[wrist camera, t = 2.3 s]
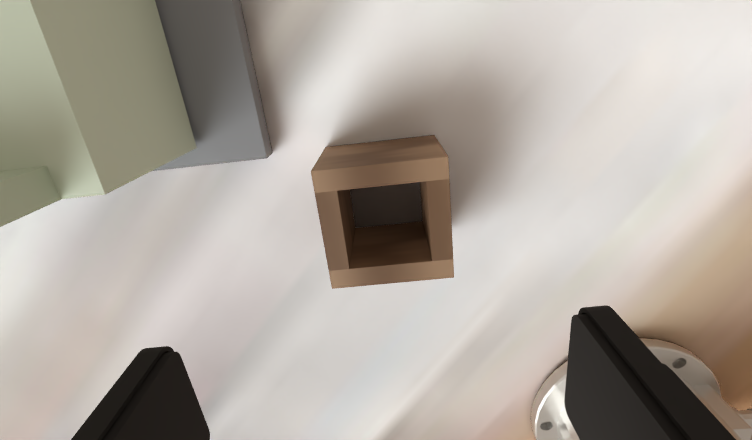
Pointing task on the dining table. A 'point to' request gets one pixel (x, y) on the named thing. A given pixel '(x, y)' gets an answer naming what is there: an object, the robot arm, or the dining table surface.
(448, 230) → the wooden crate
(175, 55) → the board
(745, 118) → the dining table surface
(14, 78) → the cover
